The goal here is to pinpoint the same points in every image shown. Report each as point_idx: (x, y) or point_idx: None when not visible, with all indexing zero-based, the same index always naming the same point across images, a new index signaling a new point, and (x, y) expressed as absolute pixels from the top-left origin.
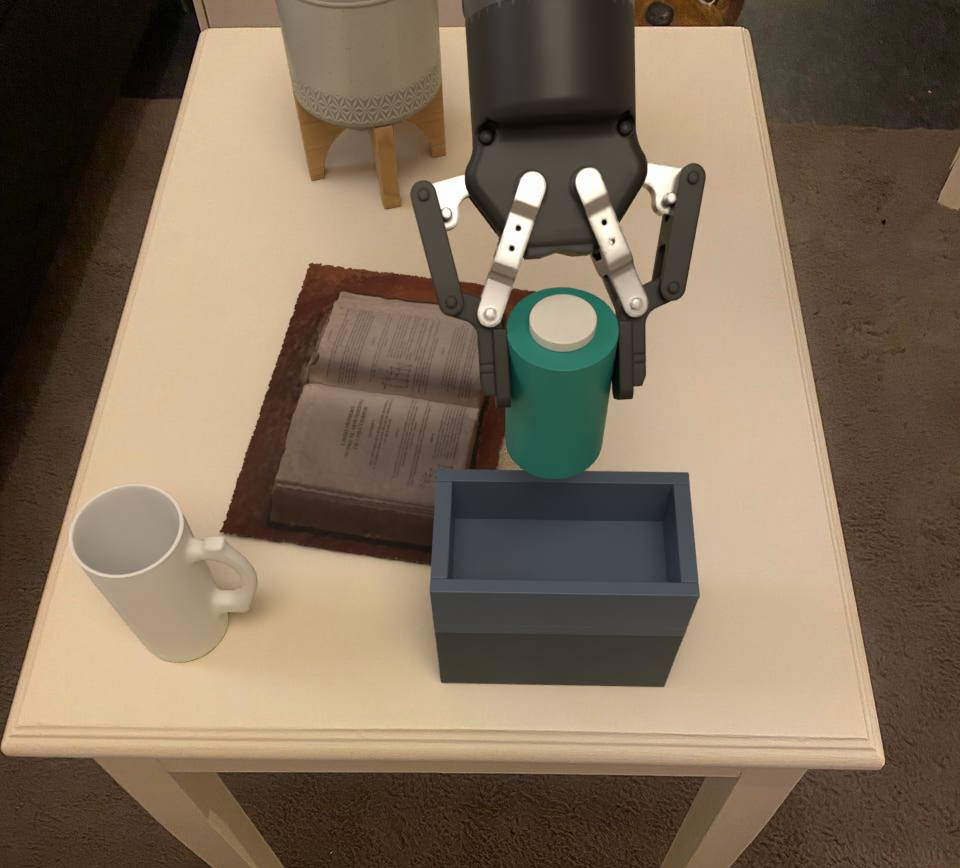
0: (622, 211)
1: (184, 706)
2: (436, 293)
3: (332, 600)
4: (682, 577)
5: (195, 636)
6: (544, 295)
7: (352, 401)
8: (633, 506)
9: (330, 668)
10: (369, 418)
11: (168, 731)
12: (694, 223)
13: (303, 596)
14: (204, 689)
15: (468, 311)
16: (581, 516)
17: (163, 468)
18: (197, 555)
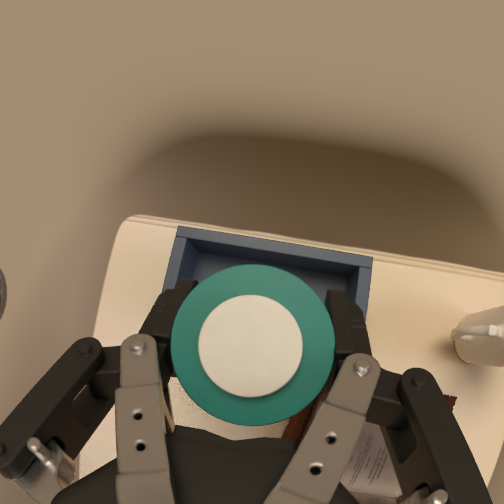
0: (108, 463)
1: (471, 288)
2: (440, 391)
3: (400, 349)
4: (184, 241)
5: (475, 315)
6: (264, 413)
7: (376, 482)
8: None
9: (404, 303)
10: (367, 470)
11: (475, 274)
12: (24, 401)
13: (416, 353)
14: (463, 297)
15: (388, 381)
16: None
17: (475, 441)
18: (498, 325)
